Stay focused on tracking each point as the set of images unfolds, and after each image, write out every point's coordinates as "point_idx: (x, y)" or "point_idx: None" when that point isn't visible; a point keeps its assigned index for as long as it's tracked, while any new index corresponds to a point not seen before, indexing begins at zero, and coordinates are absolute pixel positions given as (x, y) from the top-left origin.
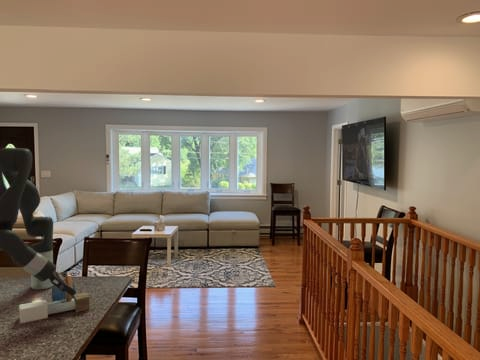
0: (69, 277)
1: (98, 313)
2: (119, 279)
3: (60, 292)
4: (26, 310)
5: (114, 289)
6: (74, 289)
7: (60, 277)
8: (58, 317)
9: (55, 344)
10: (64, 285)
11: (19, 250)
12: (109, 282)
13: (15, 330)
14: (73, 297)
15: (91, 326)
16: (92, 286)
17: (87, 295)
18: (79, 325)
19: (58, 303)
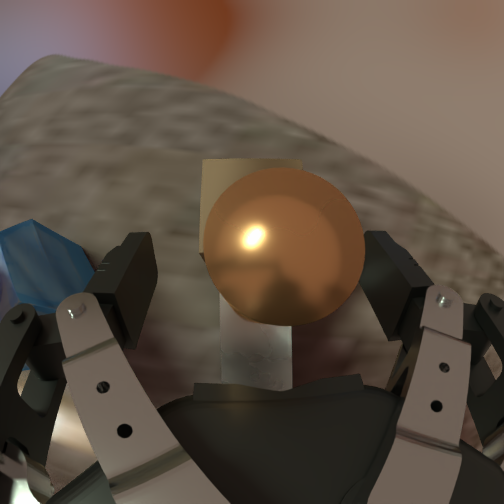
0: (352, 243)
1: (362, 175)
2: (31, 77)
3: None
4: None
5: (99, 81)
6: (50, 230)
7: (455, 434)
8: (321, 368)
9: None
10: (140, 320)
11: None
12: (25, 102)
13: None
14: (78, 250)
15: (467, 234)
16: (9, 158)
17: (270, 164)
18: (450, 276)
19: (283, 378)
